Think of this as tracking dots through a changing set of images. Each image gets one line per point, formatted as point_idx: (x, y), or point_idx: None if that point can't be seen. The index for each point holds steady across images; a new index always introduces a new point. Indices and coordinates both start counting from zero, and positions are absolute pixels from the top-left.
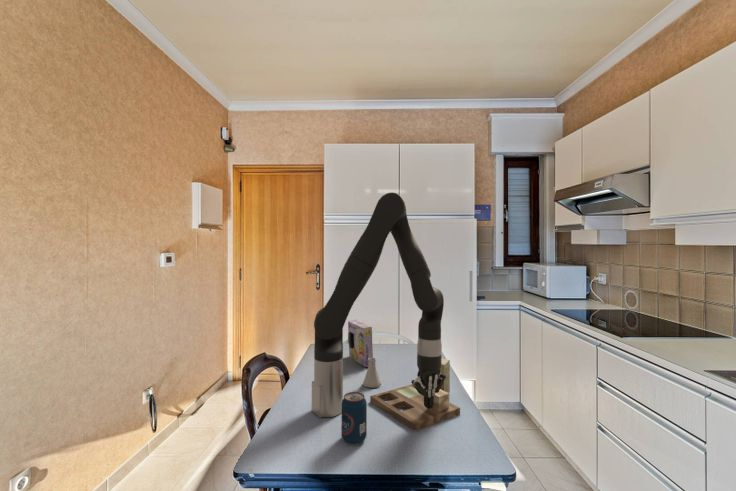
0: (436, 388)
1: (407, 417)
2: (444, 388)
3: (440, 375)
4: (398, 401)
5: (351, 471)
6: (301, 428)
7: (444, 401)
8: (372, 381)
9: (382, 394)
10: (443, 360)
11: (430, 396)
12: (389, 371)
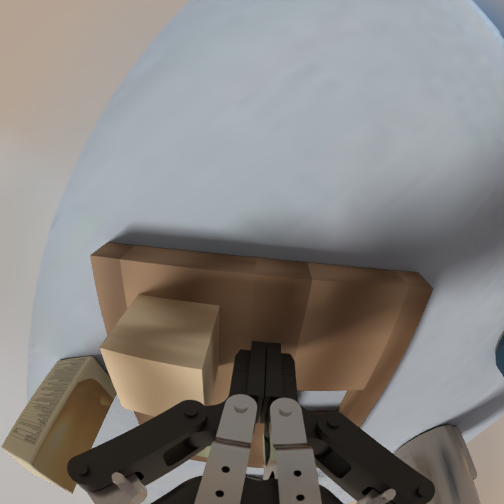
0: (193, 432)
1: (397, 348)
2: (73, 384)
3: (112, 498)
4: None
5: None
6: (495, 403)
7: (159, 328)
8: None
9: None
10: (24, 466)
11: (276, 400)
12: None
